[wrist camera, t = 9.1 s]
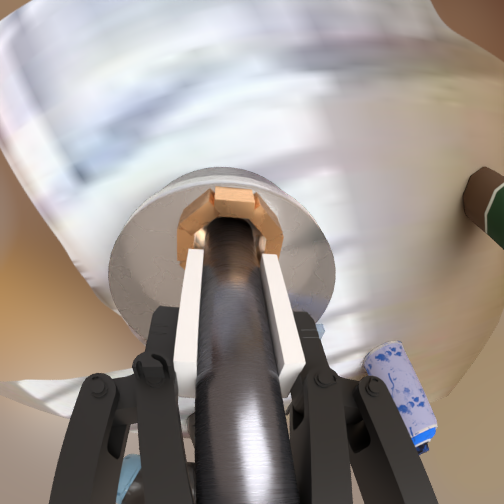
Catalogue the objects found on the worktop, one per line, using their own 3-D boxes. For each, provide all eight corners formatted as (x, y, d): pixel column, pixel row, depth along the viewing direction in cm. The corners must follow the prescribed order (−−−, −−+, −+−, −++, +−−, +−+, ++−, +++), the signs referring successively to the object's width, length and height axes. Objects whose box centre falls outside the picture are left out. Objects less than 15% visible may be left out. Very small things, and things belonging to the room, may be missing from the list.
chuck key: (249, 257, 19) (289, 530, 6) (204, 254, 18) (199, 535, 5) (256, 216, 17) (320, 530, 4) (206, 213, 17) (196, 541, 4)
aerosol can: (365, 372, 46) (398, 466, 29) (359, 354, 41) (398, 462, 25) (403, 354, 44) (442, 444, 28) (401, 334, 40) (449, 436, 23)
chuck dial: (298, 347, 29) (306, 377, 26) (131, 339, 27) (124, 370, 23) (354, 191, 20) (379, 216, 16) (104, 169, 17) (80, 192, 14)
